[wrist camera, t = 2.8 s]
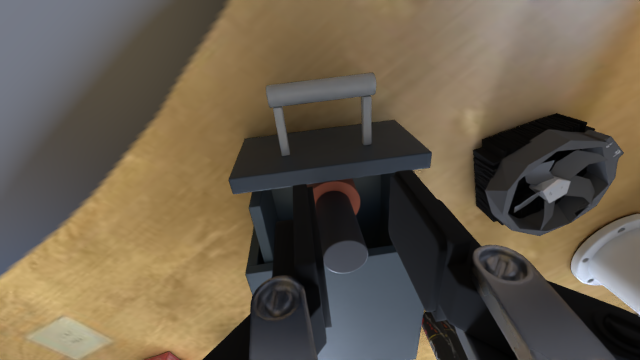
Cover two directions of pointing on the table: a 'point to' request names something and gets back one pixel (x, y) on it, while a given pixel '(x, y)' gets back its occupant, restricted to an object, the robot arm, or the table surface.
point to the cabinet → (362, 307)
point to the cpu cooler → (543, 173)
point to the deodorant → (443, 339)
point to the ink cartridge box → (164, 357)
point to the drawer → (325, 159)
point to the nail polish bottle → (339, 225)
